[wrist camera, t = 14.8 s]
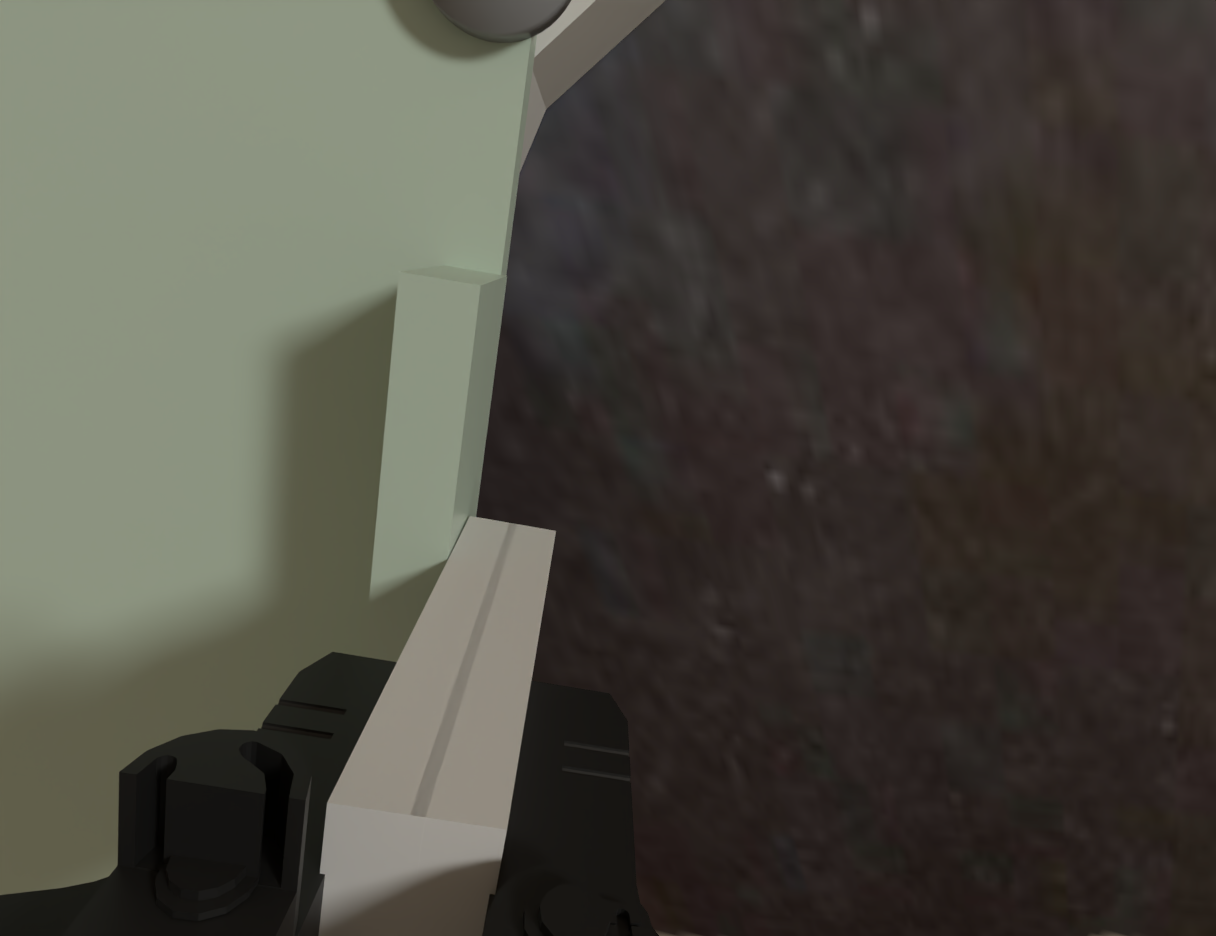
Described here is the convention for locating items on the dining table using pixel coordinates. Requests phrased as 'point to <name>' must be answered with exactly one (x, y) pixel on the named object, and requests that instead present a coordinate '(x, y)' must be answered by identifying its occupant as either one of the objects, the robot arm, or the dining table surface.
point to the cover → (232, 362)
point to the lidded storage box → (577, 50)
